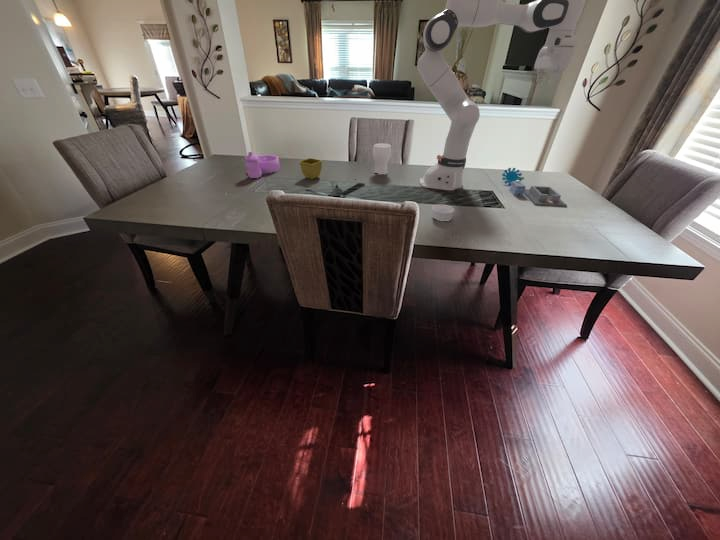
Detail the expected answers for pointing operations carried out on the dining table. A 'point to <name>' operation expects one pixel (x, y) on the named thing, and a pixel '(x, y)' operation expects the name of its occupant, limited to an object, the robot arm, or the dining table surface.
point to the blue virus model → (511, 176)
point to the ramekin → (442, 212)
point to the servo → (517, 188)
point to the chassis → (544, 196)
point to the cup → (381, 157)
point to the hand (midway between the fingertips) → (544, 83)
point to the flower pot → (311, 168)
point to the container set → (261, 164)
